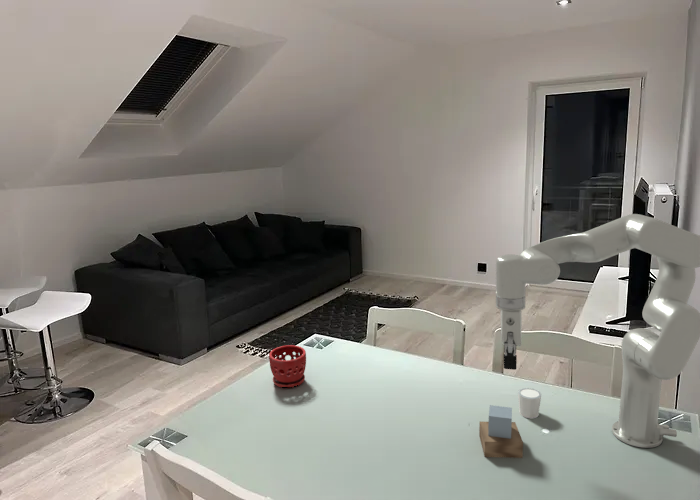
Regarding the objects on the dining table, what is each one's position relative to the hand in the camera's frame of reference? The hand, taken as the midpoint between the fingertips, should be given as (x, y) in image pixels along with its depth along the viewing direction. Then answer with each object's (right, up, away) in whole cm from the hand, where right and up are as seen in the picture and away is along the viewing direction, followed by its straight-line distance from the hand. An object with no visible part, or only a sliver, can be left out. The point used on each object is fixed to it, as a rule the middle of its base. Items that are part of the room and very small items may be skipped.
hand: (510, 360), depth 142 cm
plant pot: (-66, -18, +46) cm, 82 cm away
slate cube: (-2, -20, +3) cm, 21 cm away
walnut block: (-2, -25, +4) cm, 25 cm away
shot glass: (+12, -21, +20) cm, 31 cm away
